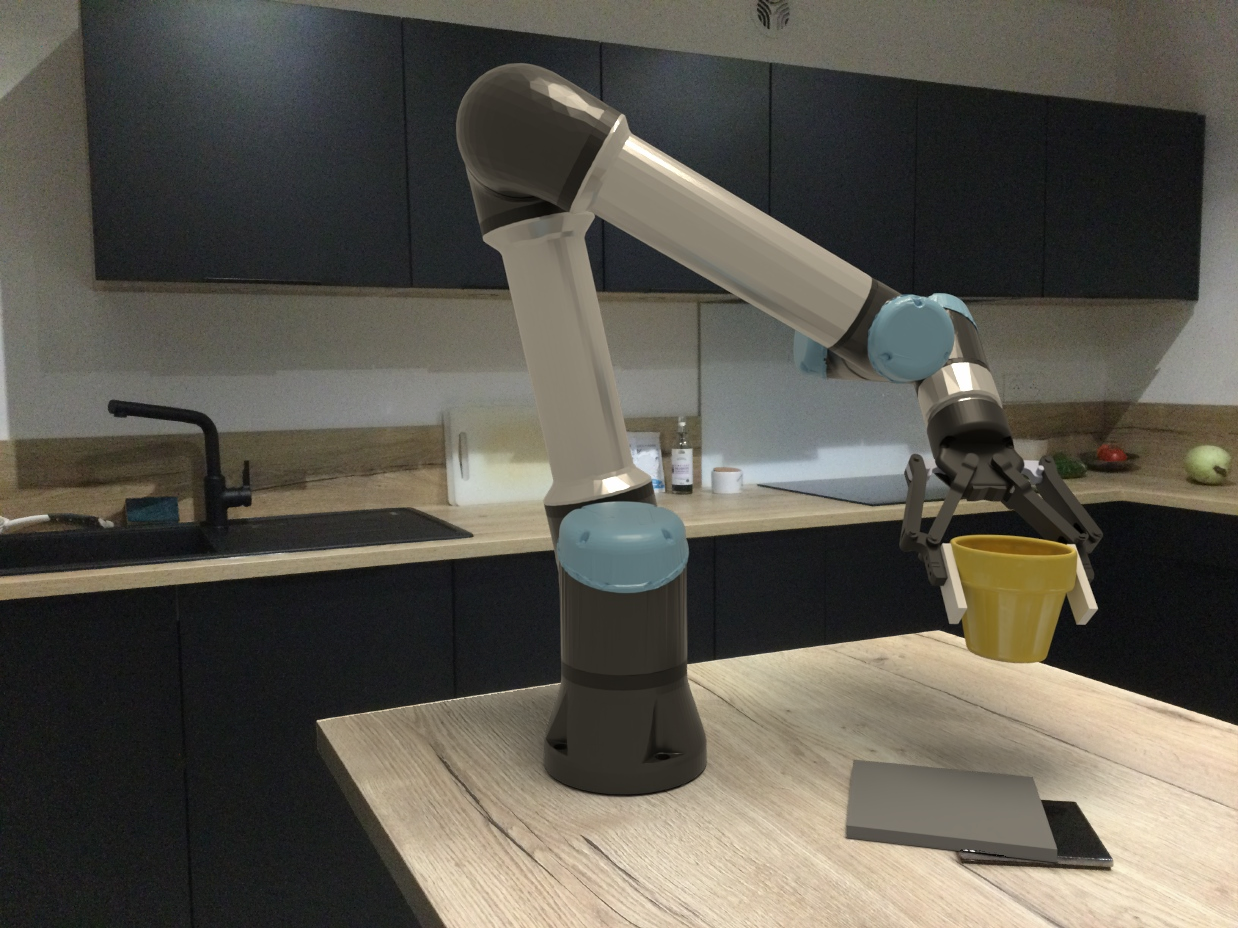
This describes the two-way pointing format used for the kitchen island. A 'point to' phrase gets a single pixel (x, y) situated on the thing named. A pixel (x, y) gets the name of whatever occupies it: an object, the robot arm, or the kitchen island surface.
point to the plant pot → (1012, 593)
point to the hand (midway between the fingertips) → (1022, 616)
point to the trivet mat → (948, 810)
